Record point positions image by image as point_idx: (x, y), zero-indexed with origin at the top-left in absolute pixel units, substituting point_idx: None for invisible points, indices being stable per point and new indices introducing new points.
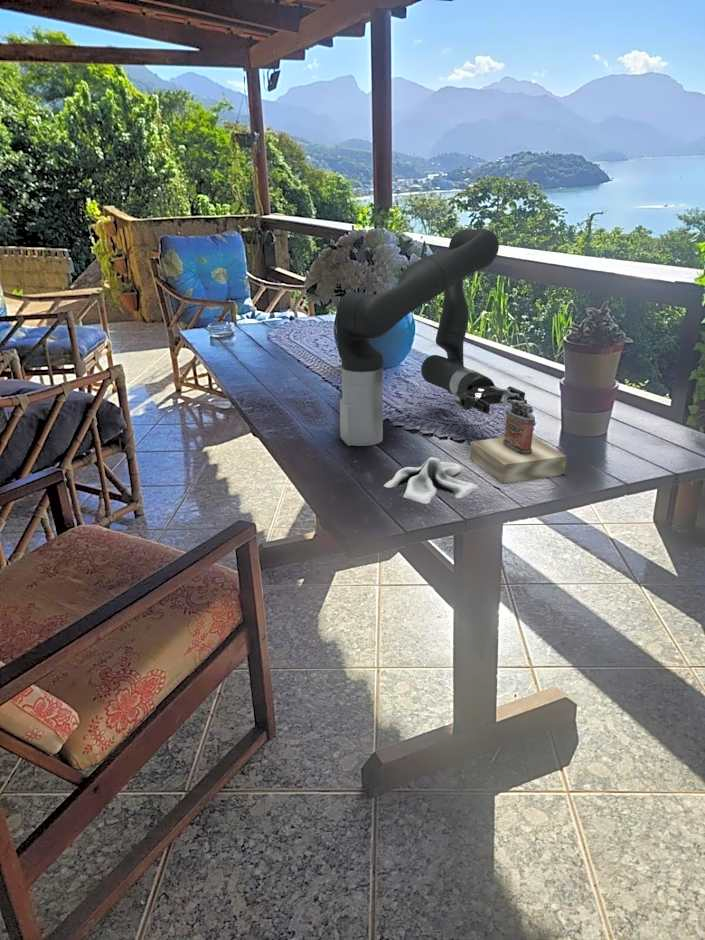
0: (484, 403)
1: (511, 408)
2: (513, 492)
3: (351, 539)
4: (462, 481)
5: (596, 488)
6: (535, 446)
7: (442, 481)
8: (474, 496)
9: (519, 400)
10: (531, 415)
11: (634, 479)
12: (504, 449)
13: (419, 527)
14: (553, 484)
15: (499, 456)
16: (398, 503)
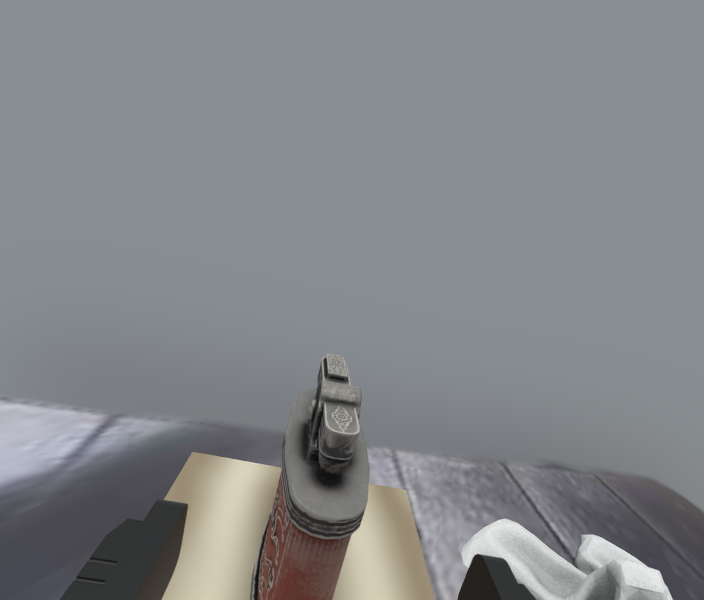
0: (518, 591)
1: (317, 510)
2: None
3: (672, 491)
4: (513, 558)
5: (198, 429)
6: (197, 561)
7: (574, 567)
8: (477, 515)
9: (156, 569)
10: (294, 408)
11: (67, 416)
12: (348, 596)
13: (575, 474)
14: None
15: (398, 542)
16: (656, 562)
